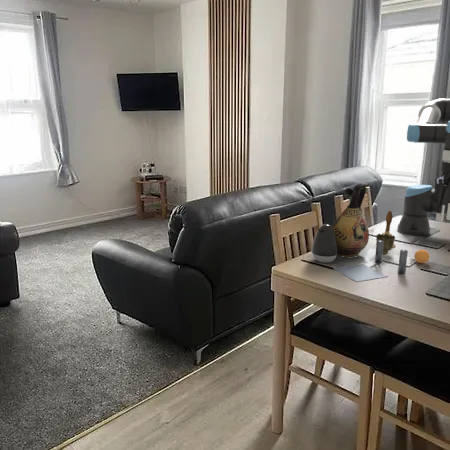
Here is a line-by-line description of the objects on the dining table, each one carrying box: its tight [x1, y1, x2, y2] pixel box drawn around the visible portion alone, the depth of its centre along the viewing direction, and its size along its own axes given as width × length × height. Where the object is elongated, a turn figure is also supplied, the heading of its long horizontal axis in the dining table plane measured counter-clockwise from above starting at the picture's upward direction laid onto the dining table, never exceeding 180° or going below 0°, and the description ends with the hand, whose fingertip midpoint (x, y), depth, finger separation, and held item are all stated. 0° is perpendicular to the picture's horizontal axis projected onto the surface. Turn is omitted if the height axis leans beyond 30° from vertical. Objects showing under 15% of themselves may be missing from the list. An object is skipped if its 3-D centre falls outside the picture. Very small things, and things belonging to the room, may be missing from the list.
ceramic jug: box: [332, 183, 370, 258], centre depth 184 cm, size 17×15×30 cm
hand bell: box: [375, 210, 396, 249], centre depth 198 cm, size 8×8×16 cm
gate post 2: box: [397, 249, 409, 276], centre depth 165 cm, size 3×3×9 cm
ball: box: [414, 249, 430, 264], centre depth 177 cm, size 6×6×6 cm
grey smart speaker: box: [311, 223, 338, 264], centre depth 177 cm, size 10×10×15 cm
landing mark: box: [332, 263, 389, 283], centre depth 167 cm, size 14×14×1 cm
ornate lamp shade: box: [376, 232, 396, 256], centre depth 188 cm, size 8×7×8 cm
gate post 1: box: [374, 240, 384, 265], centre depth 177 cm, size 3×3×9 cm
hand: (444, 220), depth 177 cm, fingers open, 5 cm apart
